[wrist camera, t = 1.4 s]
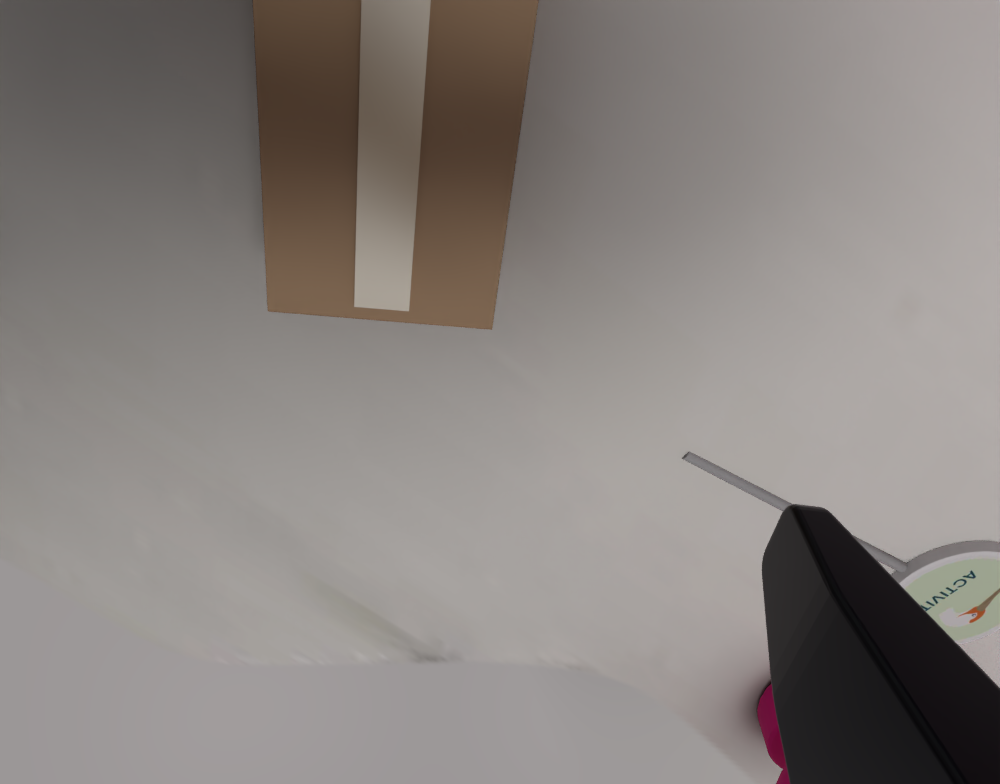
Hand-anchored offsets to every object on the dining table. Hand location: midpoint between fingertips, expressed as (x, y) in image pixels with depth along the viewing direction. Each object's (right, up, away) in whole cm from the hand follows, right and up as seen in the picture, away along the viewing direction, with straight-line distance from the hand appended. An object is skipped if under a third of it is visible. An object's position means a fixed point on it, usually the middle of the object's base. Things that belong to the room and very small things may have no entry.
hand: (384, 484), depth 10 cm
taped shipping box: (-1, +8, +10) cm, 12 cm away
